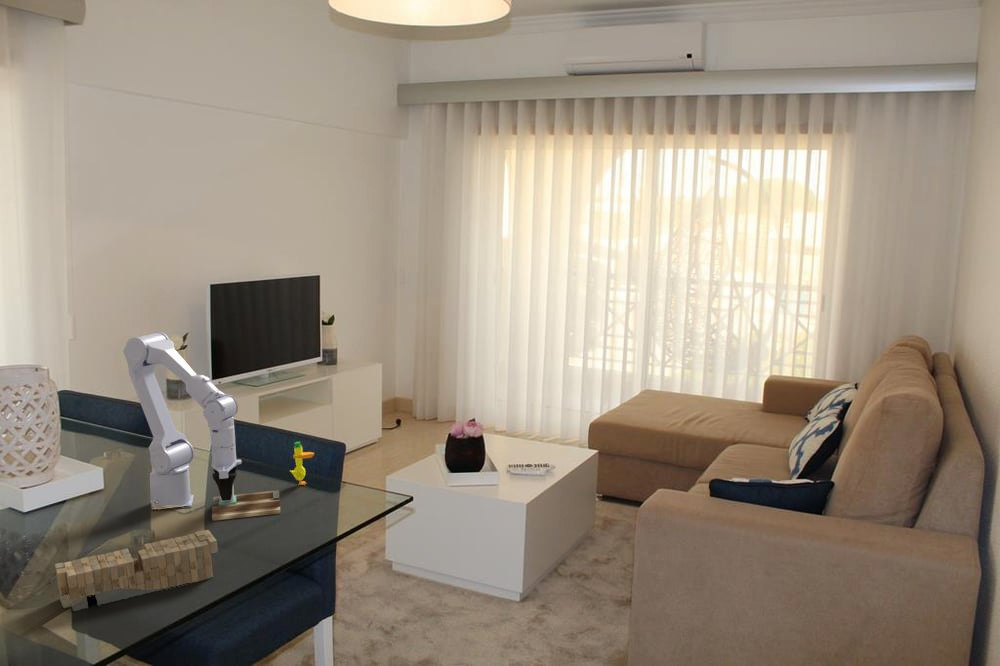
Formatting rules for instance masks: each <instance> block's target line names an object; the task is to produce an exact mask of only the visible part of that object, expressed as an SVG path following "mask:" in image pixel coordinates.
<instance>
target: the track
mask: <svg viewBox="0 0 1000 666" xmlns="http://www.w3.org/2000/svg"><path fill="white" fill-rule="evenodd" d="M235 495H236V500H237V503H236V504H232V505H222V506H219V497H221V496H220V495H219V496H218V495H217V496H213V497H212V505H211V506H212V507H211V510H212V512H211V513H212V515H211V519H212V521H221V520H230V519H231V520H232V519H240V518H249V517H250V518H251V517H258V516H267V515H277V514H281V500H280V490H269V491H260V492H259V491H258V492H251V493H250V492H249V493H239V494H235Z"/></svg>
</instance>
